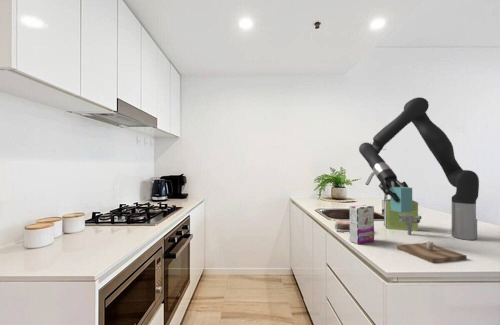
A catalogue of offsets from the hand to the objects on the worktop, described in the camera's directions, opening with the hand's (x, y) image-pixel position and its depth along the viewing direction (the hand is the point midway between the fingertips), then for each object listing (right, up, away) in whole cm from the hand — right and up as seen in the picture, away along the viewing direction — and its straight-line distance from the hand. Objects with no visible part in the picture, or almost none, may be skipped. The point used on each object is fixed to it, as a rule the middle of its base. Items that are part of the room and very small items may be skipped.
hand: (404, 200), depth 113 cm
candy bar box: (-18, -20, +3) cm, 27 cm away
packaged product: (-14, -20, +22) cm, 33 cm away
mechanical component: (+12, -20, +16) cm, 28 cm away
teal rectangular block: (0, -5, +2) cm, 5 cm away
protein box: (+16, -20, +30) cm, 40 cm away
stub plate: (+3, -19, -12) cm, 23 cm away
